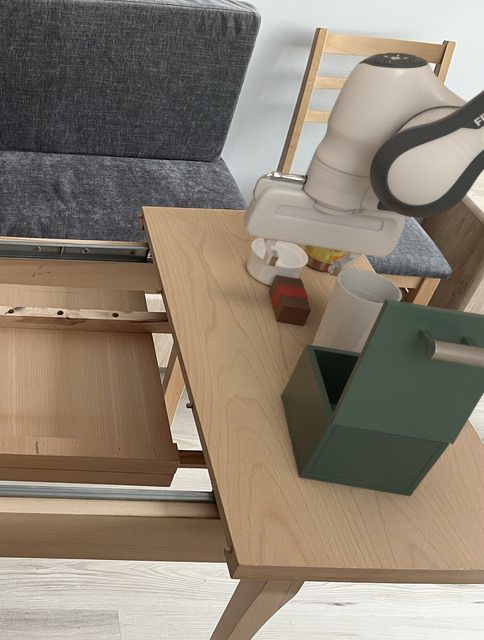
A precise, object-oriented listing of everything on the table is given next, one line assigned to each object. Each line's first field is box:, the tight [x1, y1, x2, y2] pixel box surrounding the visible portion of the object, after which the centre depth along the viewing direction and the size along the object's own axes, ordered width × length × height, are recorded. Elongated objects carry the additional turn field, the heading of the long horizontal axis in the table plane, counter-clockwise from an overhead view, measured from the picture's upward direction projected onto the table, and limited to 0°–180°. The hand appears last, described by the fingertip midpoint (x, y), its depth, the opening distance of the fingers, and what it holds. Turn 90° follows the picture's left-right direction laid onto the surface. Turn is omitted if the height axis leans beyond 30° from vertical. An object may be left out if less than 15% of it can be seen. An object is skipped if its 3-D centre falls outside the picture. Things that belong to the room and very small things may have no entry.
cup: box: [311, 267, 403, 353], centre depth 93 cm, size 8×8×12 cm
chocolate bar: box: [268, 275, 312, 327], centre depth 103 cm, size 4×8×3 cm, turn 172°
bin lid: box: [330, 299, 484, 445], centre depth 67 cm, size 15×13×5 cm
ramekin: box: [246, 237, 308, 287], centre depth 110 cm, size 9×9×4 cm
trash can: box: [280, 344, 450, 497], centre depth 81 cm, size 14×13×9 cm
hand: (301, 268), depth 100 cm, fingers open, 8 cm apart
